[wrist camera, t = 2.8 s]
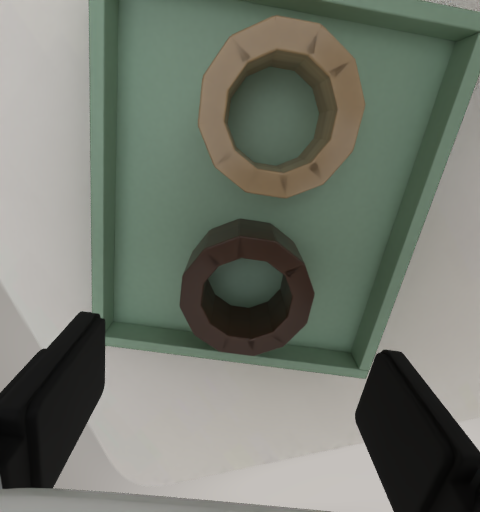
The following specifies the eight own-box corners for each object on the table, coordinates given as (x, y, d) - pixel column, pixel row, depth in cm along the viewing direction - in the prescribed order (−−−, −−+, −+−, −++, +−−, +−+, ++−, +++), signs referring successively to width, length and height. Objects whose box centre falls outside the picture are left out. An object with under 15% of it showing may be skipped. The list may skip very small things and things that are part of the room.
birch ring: (215, 29, 13) (209, 1, 11) (355, 54, 14) (385, 34, 11) (199, 175, 15) (191, 184, 13) (321, 194, 16) (338, 207, 13)
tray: (110, -36, 13) (87, -66, 11) (464, 32, 14) (502, 15, 12) (107, 322, 19) (91, 344, 17) (353, 355, 20) (366, 379, 18)
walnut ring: (196, 211, 16) (186, 228, 13) (312, 229, 16) (327, 248, 14) (185, 313, 18) (174, 346, 15) (288, 327, 19) (297, 362, 16)
